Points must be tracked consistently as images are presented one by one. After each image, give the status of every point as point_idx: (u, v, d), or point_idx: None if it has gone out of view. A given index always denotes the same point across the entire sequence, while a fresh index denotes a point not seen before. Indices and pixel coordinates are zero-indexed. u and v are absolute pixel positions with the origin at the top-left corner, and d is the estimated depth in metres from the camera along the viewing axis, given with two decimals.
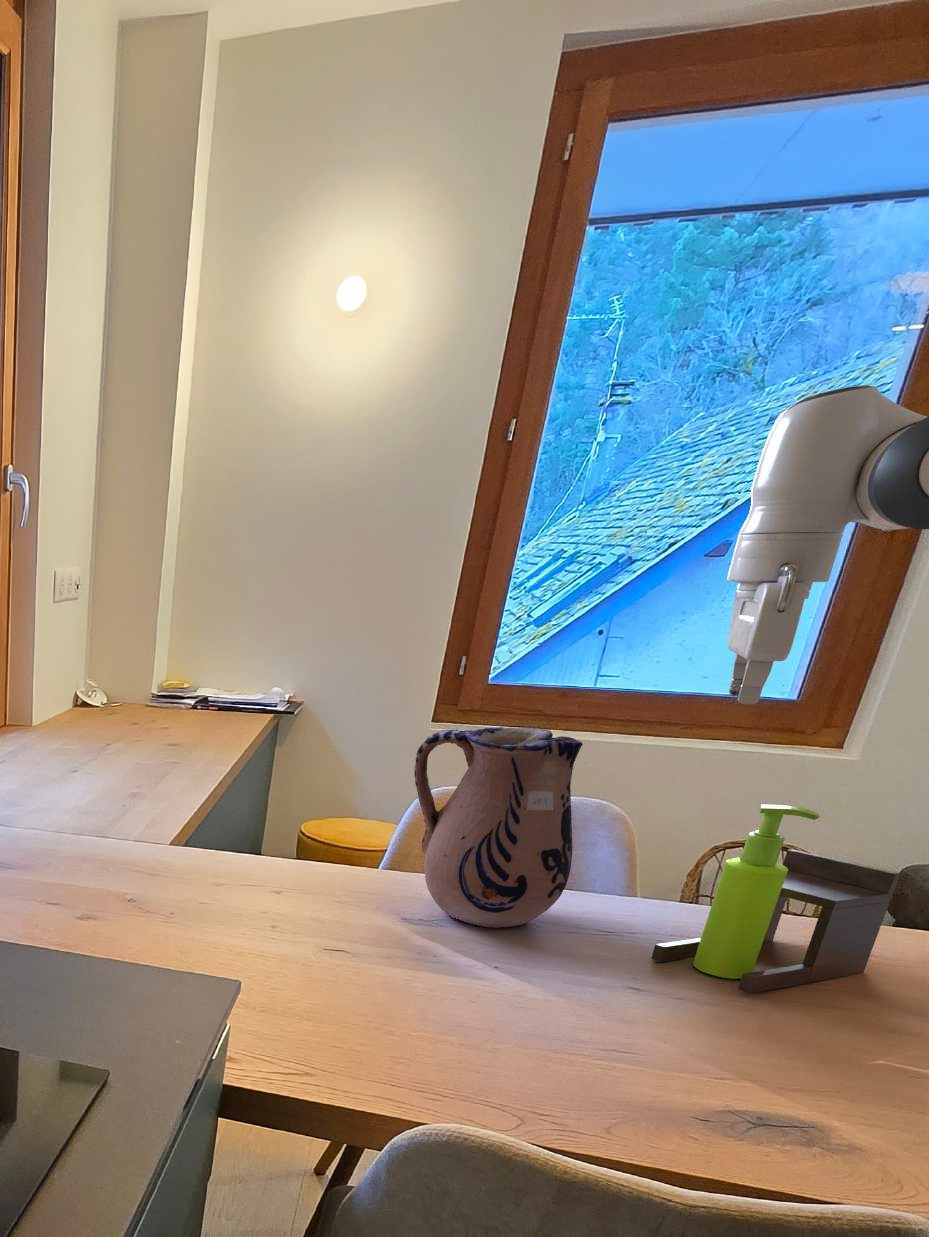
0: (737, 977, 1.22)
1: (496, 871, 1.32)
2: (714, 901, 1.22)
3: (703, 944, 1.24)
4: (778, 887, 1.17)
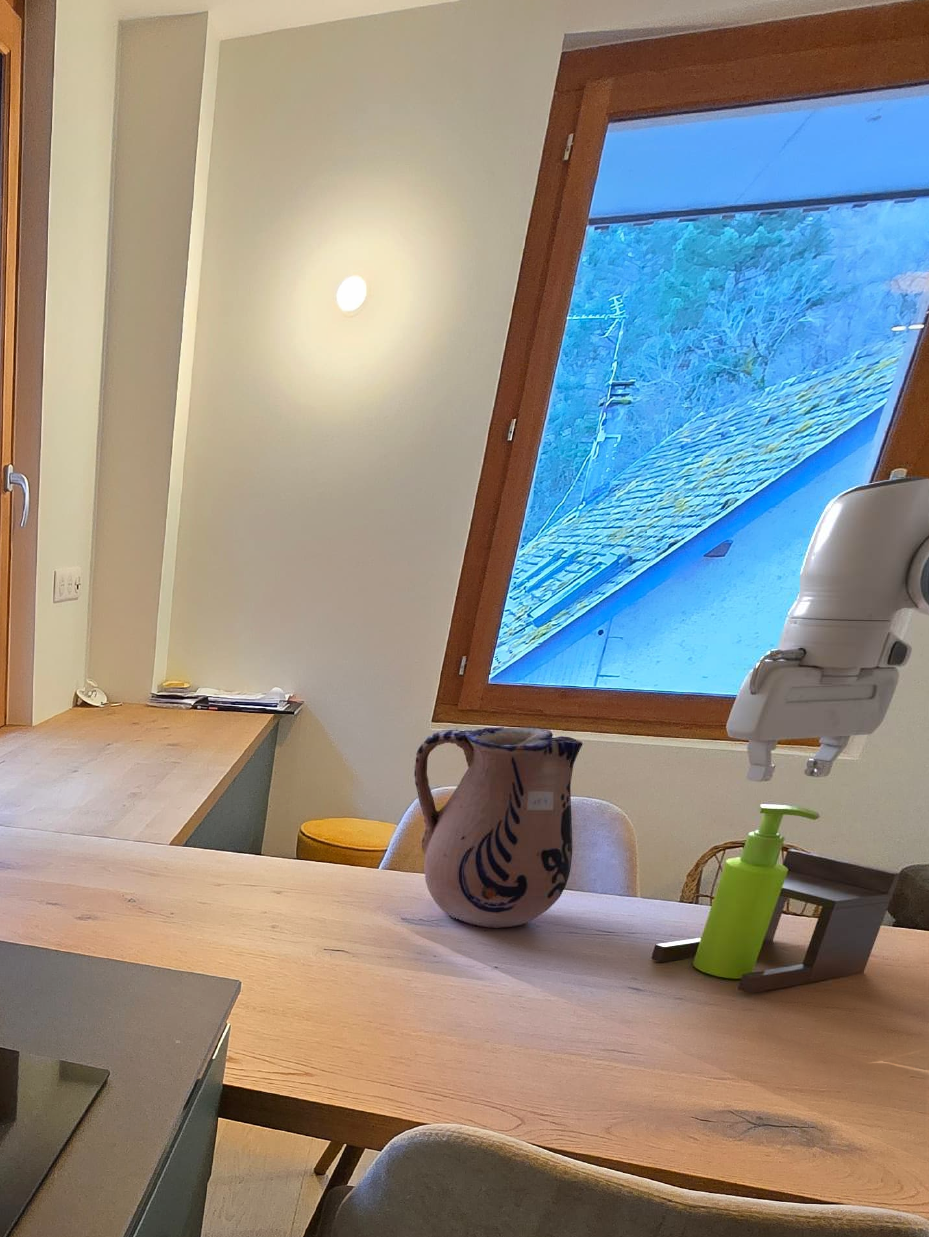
0: (737, 977, 1.22)
1: (496, 871, 1.32)
2: (714, 901, 1.22)
3: (703, 944, 1.24)
4: (778, 887, 1.17)
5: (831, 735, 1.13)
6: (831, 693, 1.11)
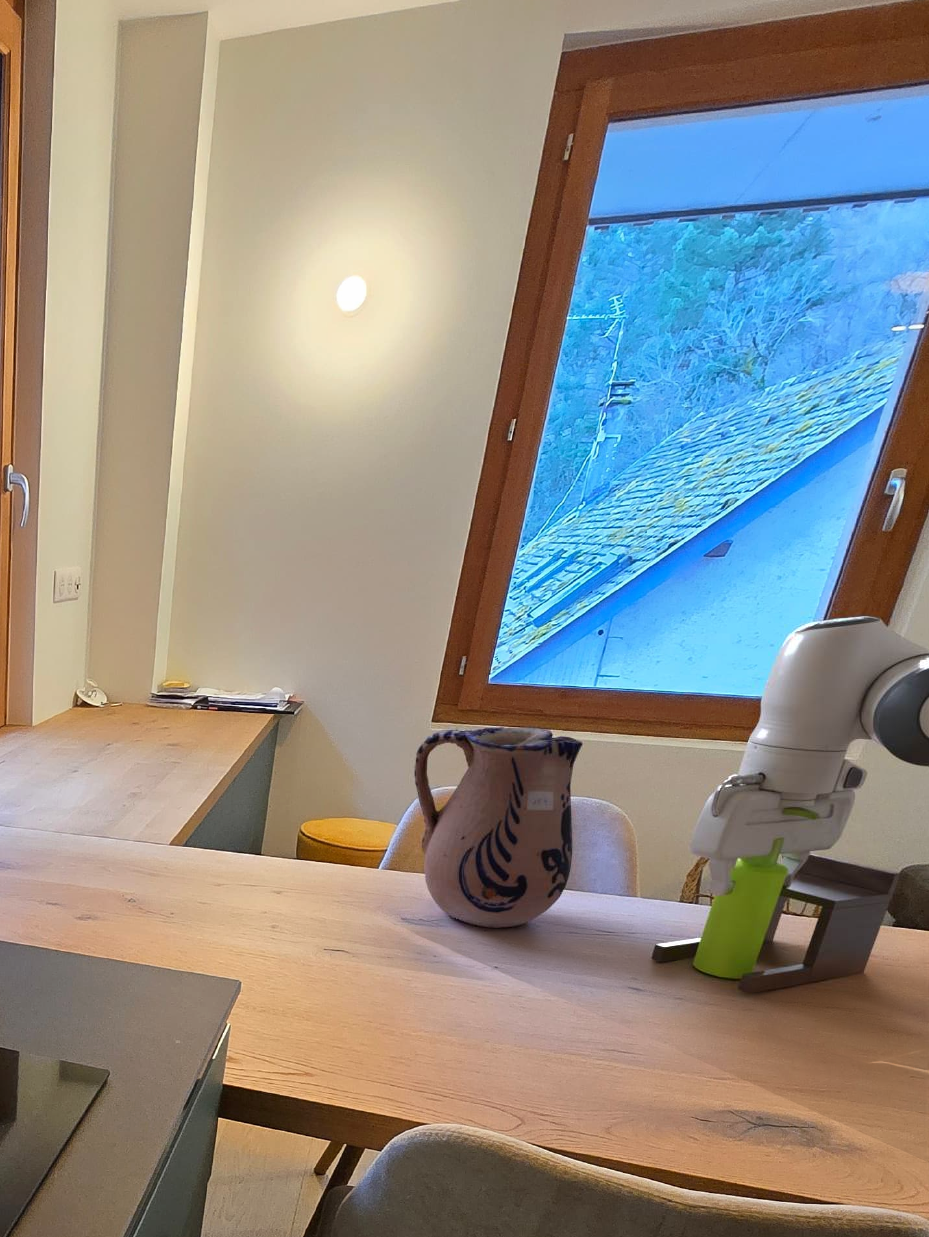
0: (737, 977, 1.22)
1: (496, 871, 1.32)
2: (714, 901, 1.22)
3: (703, 944, 1.24)
4: (778, 887, 1.17)
5: (790, 852, 1.18)
6: None
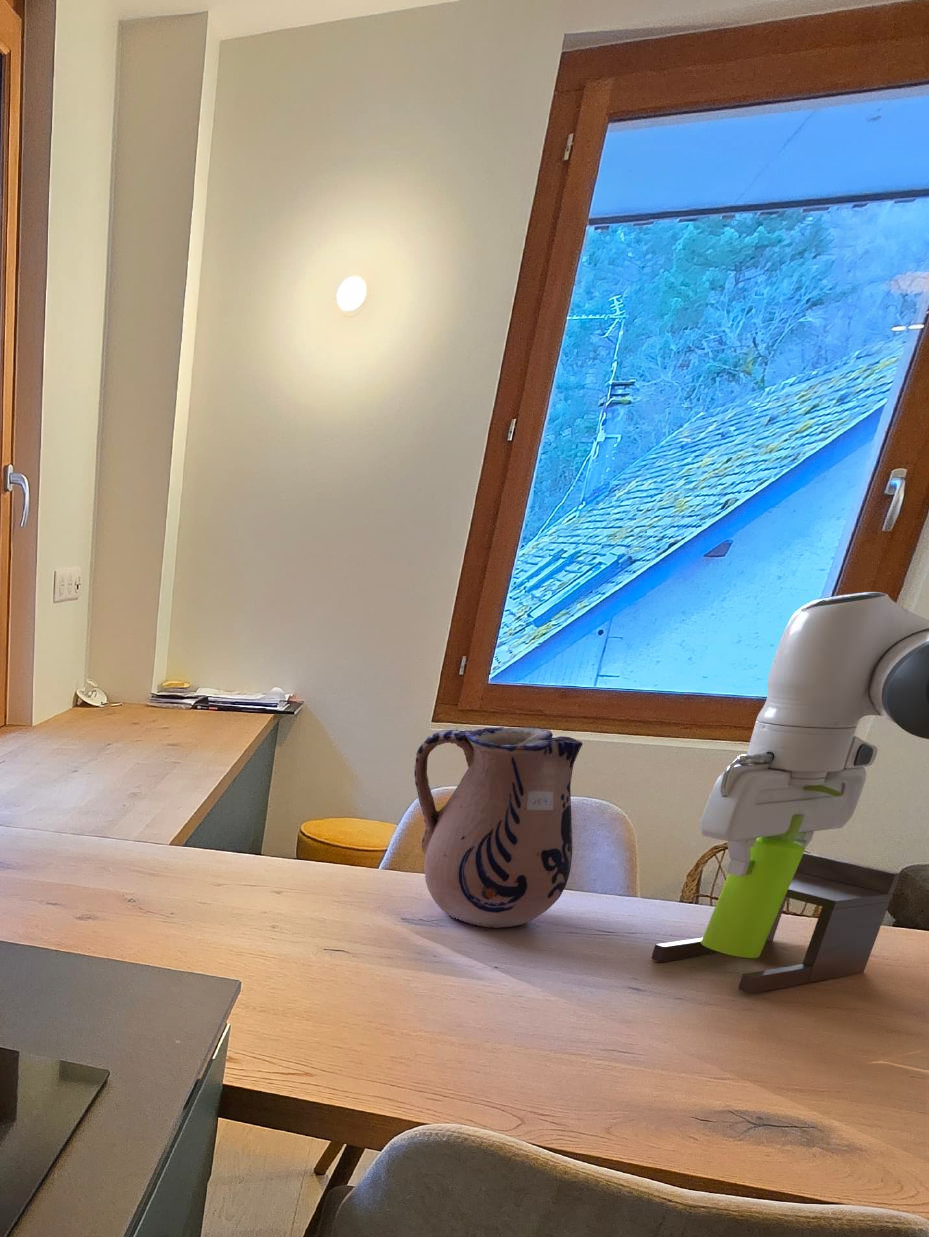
0: (746, 956, 1.20)
1: (496, 871, 1.32)
2: (729, 877, 1.21)
3: (713, 921, 1.22)
4: (795, 864, 1.16)
5: (802, 831, 1.17)
6: (800, 793, 1.15)
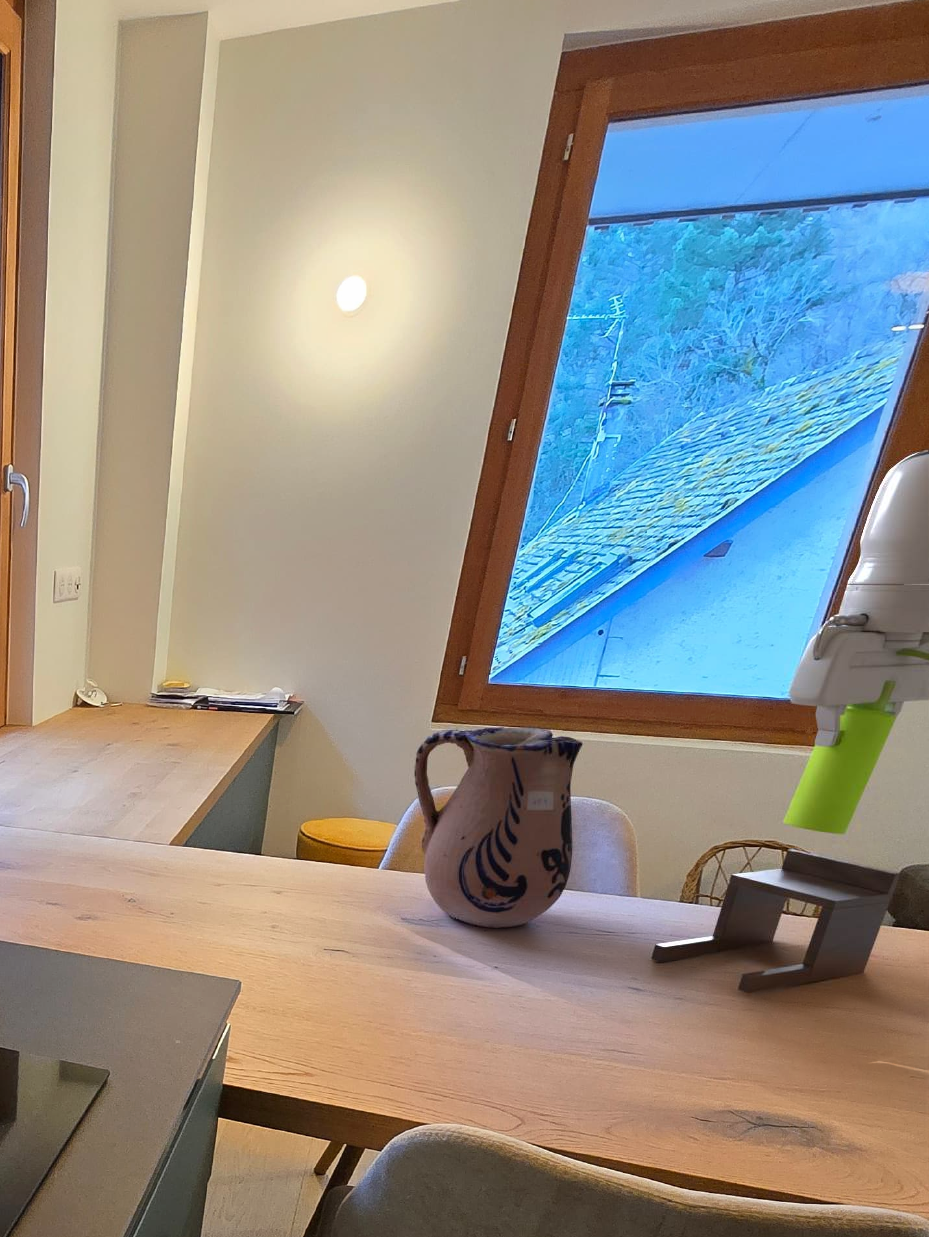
0: (832, 831, 1.17)
1: (496, 871, 1.32)
2: (814, 751, 1.18)
3: (798, 797, 1.19)
4: (885, 733, 1.14)
5: (892, 700, 1.14)
6: (893, 658, 1.12)
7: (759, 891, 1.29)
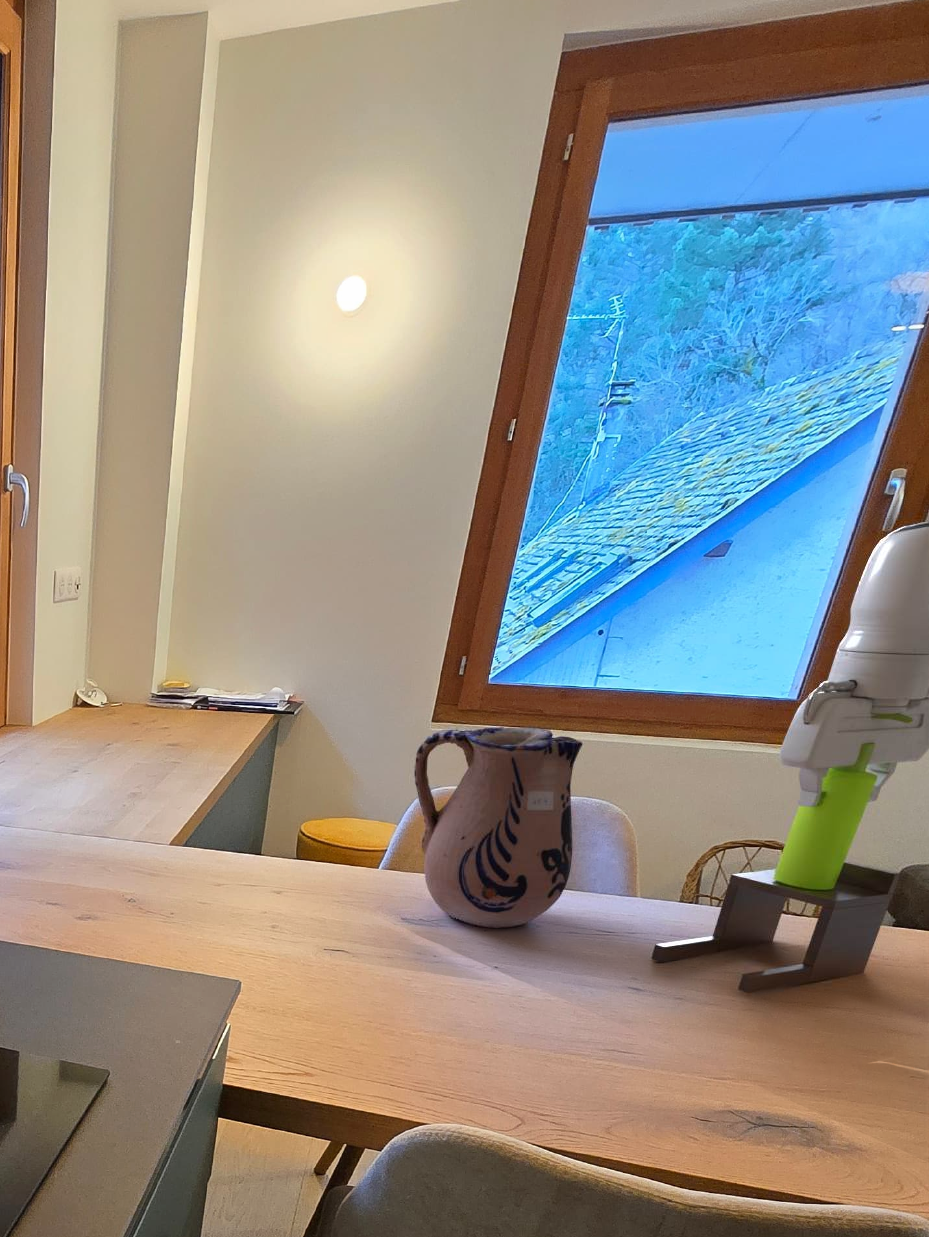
0: (821, 888, 1.21)
1: (496, 871, 1.32)
2: (799, 811, 1.21)
3: (786, 855, 1.23)
4: (867, 794, 1.16)
5: (880, 762, 1.18)
6: (881, 722, 1.15)
7: (759, 891, 1.29)
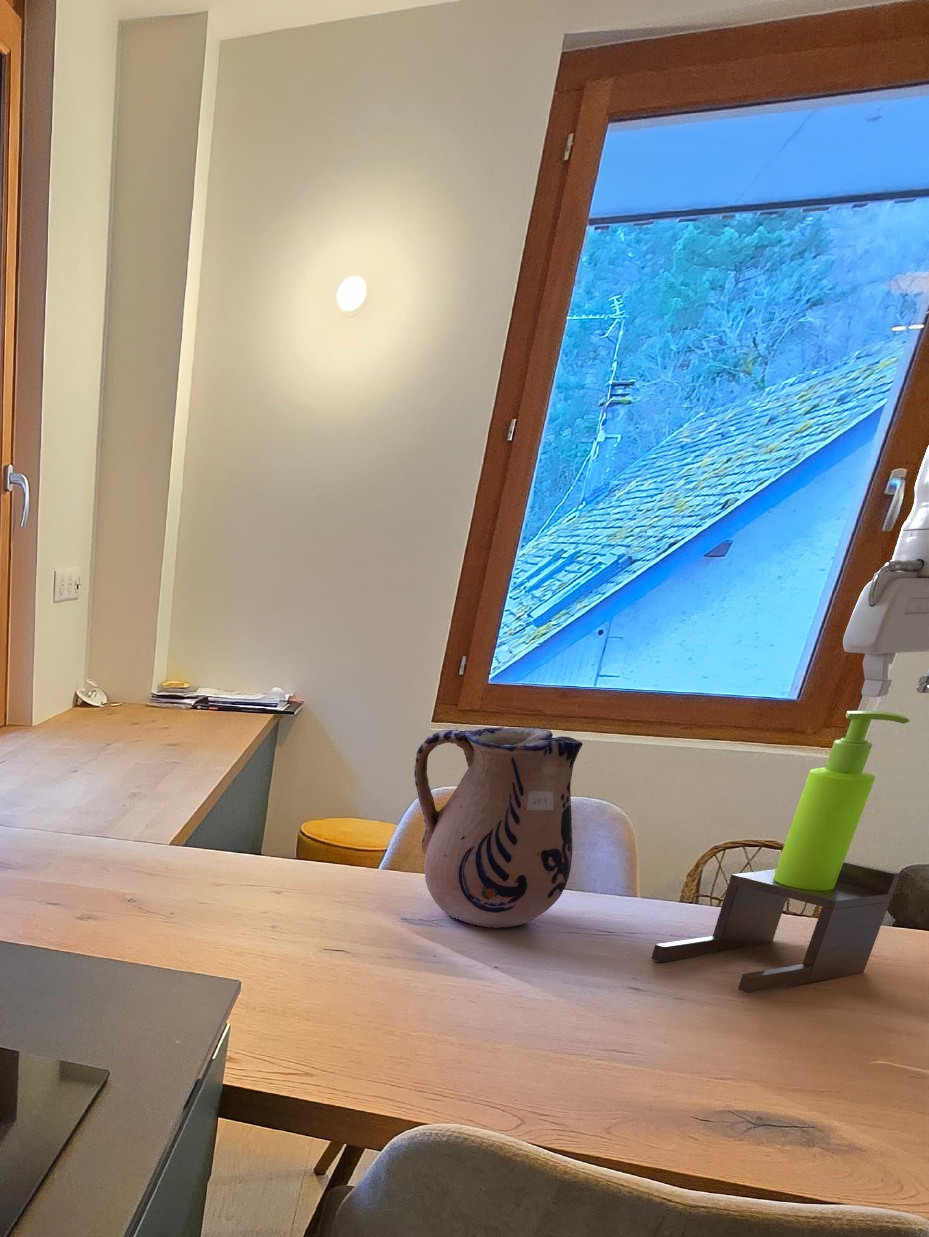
0: (820, 889, 1.21)
1: (496, 871, 1.32)
2: (797, 812, 1.21)
3: (785, 856, 1.23)
4: (865, 794, 1.16)
5: None
6: None
7: (759, 891, 1.29)
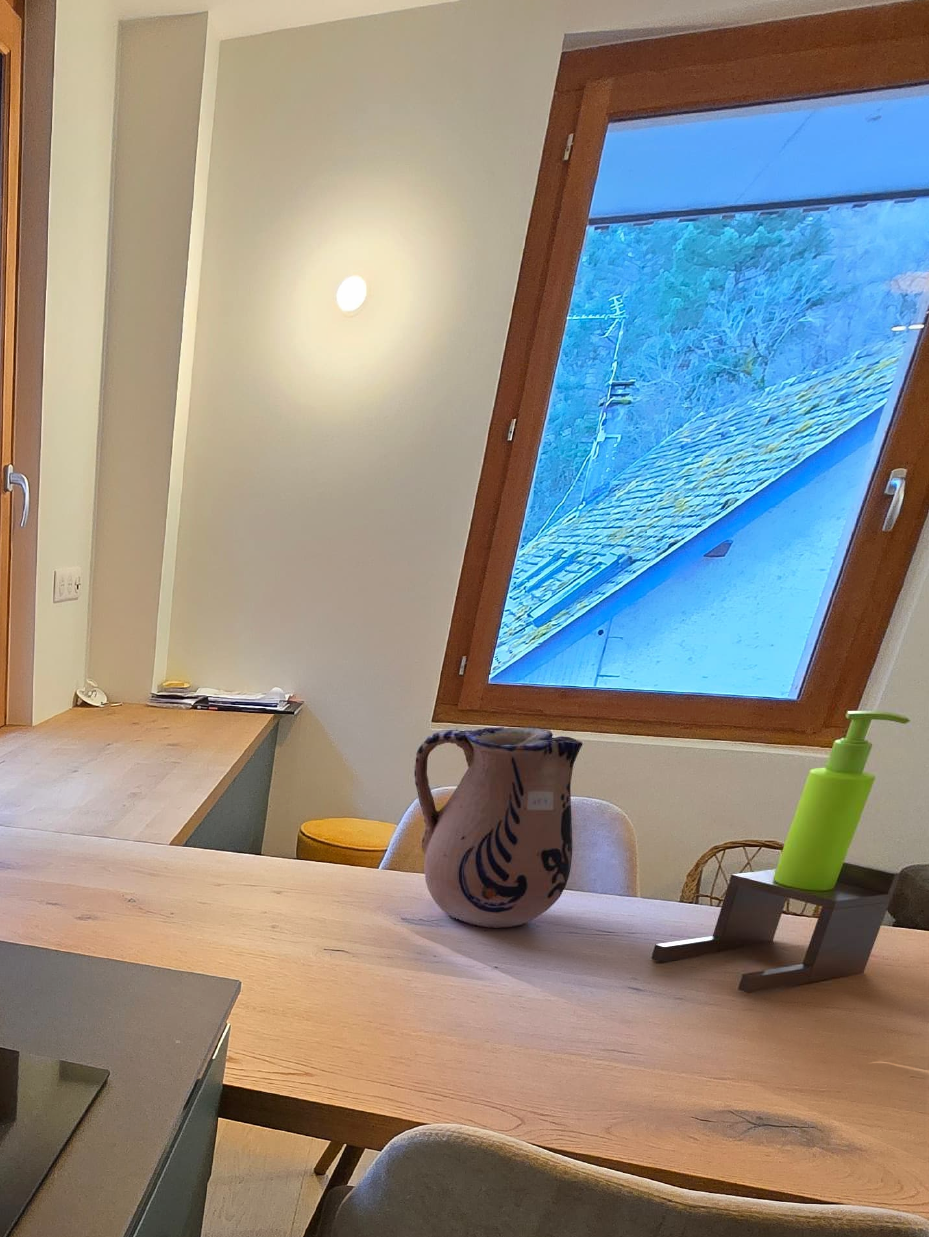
0: (820, 889, 1.21)
1: (496, 871, 1.32)
2: (797, 812, 1.21)
3: (785, 856, 1.23)
4: (865, 794, 1.16)
5: None
6: None
7: (759, 891, 1.29)
